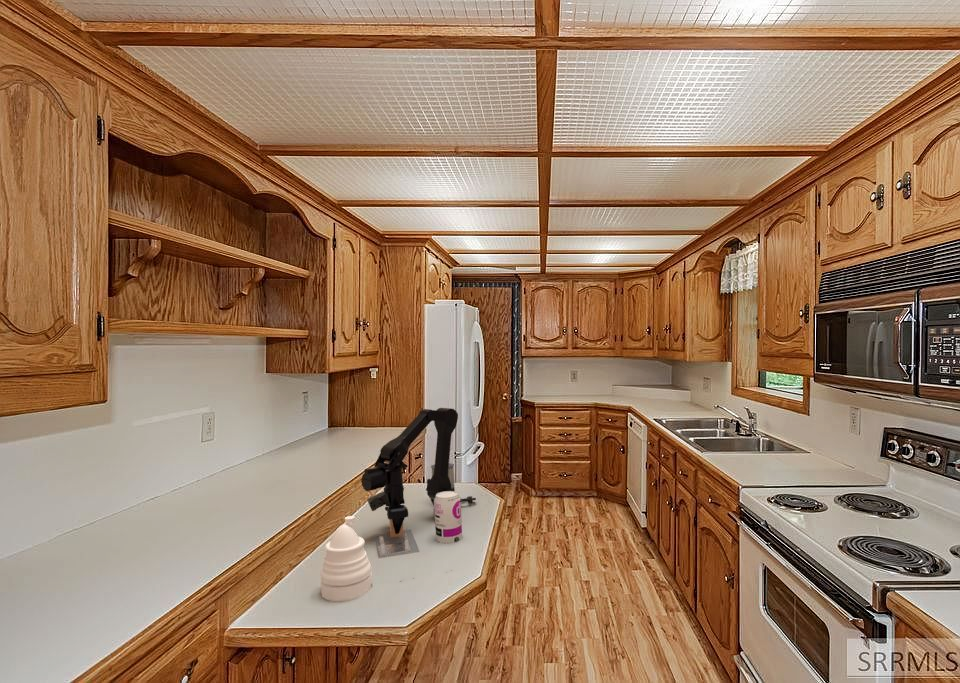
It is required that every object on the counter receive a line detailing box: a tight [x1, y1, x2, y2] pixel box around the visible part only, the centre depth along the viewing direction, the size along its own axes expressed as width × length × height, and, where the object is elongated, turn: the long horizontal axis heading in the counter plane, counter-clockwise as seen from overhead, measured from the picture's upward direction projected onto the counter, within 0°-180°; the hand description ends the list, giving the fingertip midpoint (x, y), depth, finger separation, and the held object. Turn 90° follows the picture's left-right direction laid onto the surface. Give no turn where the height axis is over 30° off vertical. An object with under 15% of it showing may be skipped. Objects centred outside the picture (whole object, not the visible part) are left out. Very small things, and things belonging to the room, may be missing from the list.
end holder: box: [378, 533, 411, 557], centre depth 156 cm, size 9×7×4 cm
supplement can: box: [433, 491, 463, 544], centre depth 163 cm, size 8×8×15 cm
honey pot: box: [320, 515, 373, 602], centre depth 135 cm, size 13×13×18 cm
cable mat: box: [373, 528, 421, 559], centre depth 161 cm, size 12×20×1 cm, turn 15°
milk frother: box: [430, 462, 477, 506], centre depth 201 cm, size 14×16×15 cm
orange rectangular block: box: [388, 519, 404, 538], centre depth 168 cm, size 4×3×6 cm
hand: (396, 531), depth 168 cm, fingers closed on orange rectangular block, 3 cm apart
